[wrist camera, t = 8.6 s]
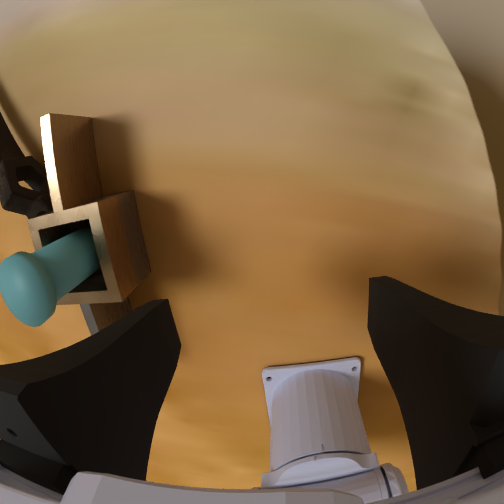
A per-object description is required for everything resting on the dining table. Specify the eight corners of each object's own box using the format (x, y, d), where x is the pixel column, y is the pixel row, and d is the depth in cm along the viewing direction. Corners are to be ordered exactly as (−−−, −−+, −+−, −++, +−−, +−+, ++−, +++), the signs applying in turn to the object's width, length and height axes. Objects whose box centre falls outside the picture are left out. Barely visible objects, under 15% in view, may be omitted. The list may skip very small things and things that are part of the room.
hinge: (170, 340, 24) (150, 379, 19) (108, 340, 24) (82, 374, 20) (121, 107, 18) (82, 98, 14) (57, 130, 19) (14, 131, 14)
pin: (133, 260, 22) (57, 328, 12) (92, 264, 22) (13, 325, 13) (122, 210, 21) (33, 253, 11) (81, 217, 21) (-10, 259, 12)
